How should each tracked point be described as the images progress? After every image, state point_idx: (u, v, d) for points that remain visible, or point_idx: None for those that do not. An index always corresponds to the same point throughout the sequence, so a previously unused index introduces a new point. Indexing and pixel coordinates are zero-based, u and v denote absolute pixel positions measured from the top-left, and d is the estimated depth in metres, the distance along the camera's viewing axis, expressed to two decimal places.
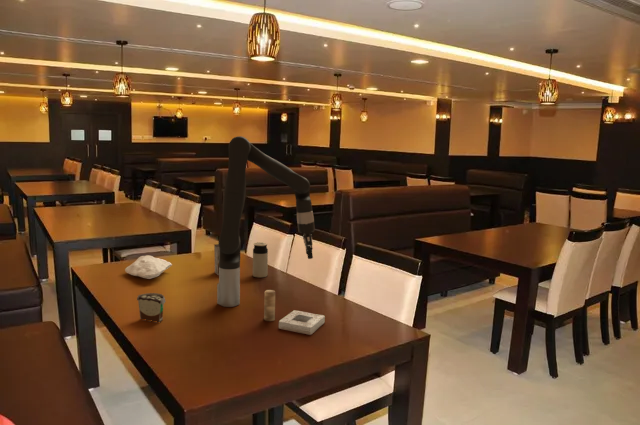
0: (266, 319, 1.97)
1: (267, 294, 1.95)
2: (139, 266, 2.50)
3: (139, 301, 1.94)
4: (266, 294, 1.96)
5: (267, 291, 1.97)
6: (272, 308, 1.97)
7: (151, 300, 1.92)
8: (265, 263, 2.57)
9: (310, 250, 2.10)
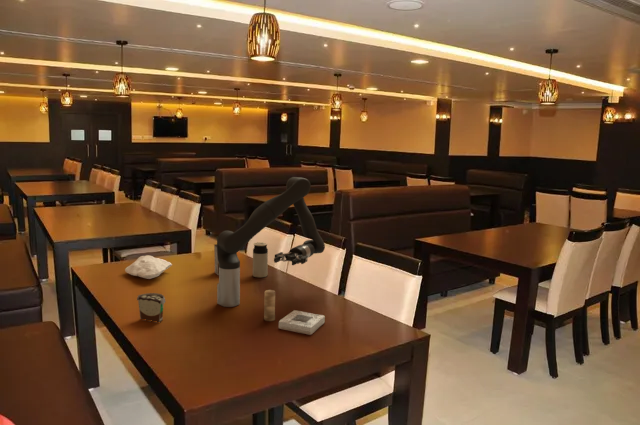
0: (266, 319, 1.97)
1: (267, 294, 1.95)
2: (139, 266, 2.50)
3: (139, 301, 1.94)
4: (266, 294, 1.96)
5: (267, 291, 1.97)
6: (272, 308, 1.97)
7: (151, 300, 1.92)
8: (265, 263, 2.57)
9: (299, 262, 2.08)
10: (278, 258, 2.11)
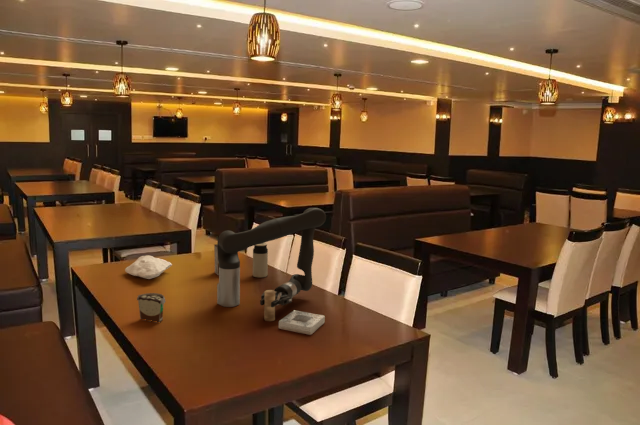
0: (266, 319, 1.97)
1: (267, 294, 1.95)
2: (139, 266, 2.50)
3: (139, 301, 1.94)
4: (266, 294, 1.96)
5: (267, 291, 1.97)
6: (272, 308, 1.97)
7: (151, 300, 1.92)
8: (265, 263, 2.57)
9: (279, 303, 1.98)
10: None
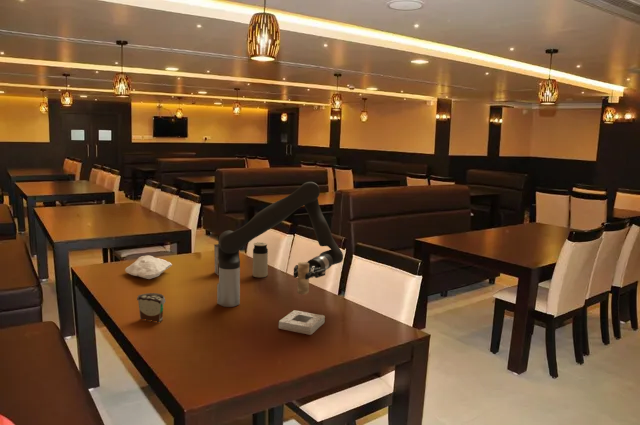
0: (300, 292, 1.90)
1: (301, 265, 1.88)
2: (139, 266, 2.50)
3: (139, 301, 1.94)
4: (300, 266, 1.88)
5: (301, 263, 1.90)
6: (306, 280, 1.89)
7: (151, 300, 1.92)
8: (265, 263, 2.57)
9: (313, 275, 1.90)
10: None
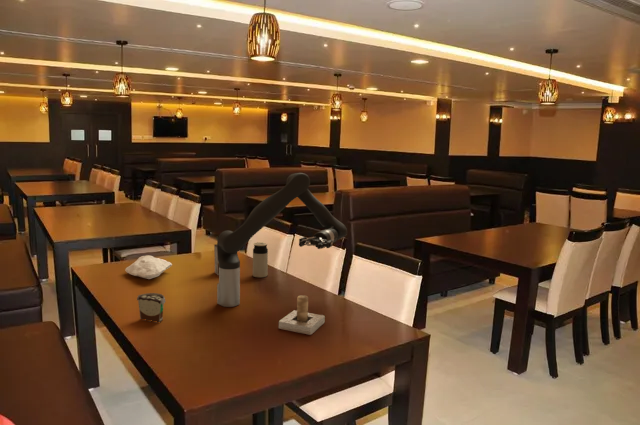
0: None
1: (300, 299, 1.90)
2: (139, 266, 2.50)
3: (139, 301, 1.94)
4: (299, 300, 1.90)
5: (300, 297, 1.92)
6: (305, 314, 1.91)
7: (151, 300, 1.92)
8: (265, 263, 2.57)
9: (324, 246, 2.05)
10: (303, 242, 2.07)
